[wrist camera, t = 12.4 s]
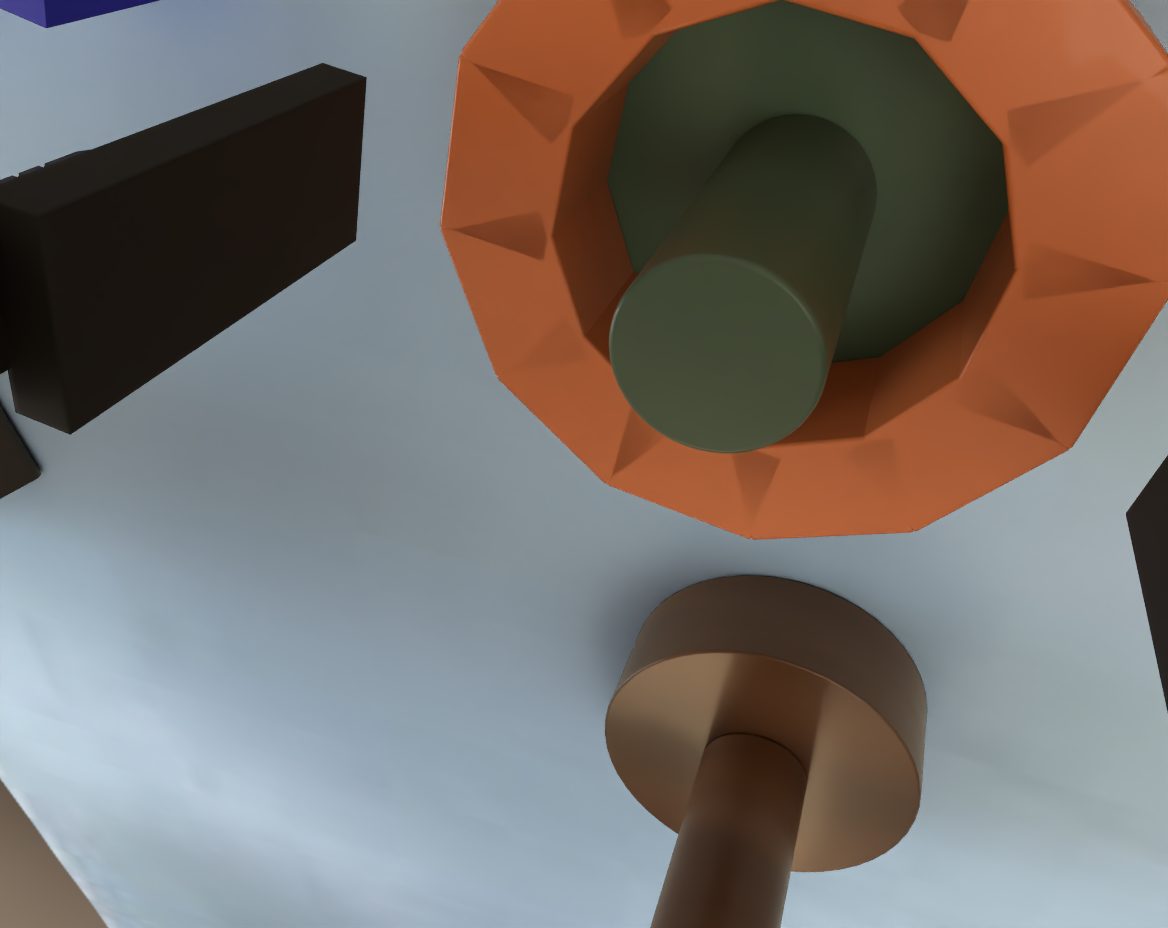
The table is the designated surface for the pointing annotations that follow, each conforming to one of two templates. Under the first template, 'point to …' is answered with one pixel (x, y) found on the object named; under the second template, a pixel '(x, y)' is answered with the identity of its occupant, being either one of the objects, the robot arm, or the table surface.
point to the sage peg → (787, 216)
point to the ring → (853, 388)
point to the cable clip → (64, 9)
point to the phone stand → (14, 460)
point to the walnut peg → (766, 742)
